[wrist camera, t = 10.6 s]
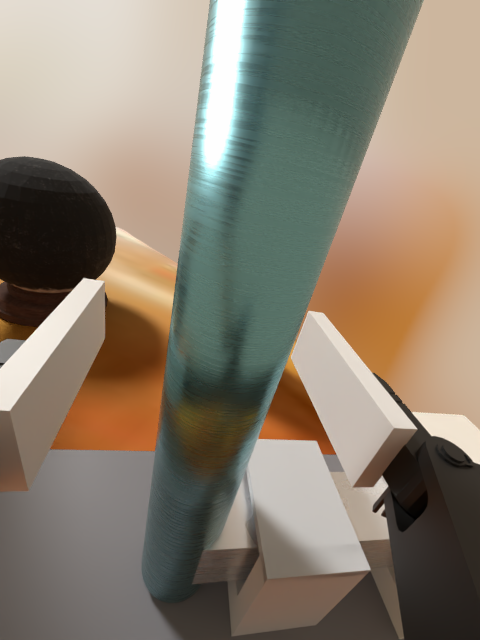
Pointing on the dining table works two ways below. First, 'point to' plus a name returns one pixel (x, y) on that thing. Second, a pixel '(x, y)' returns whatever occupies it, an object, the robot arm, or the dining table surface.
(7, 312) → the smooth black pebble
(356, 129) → the tube
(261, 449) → the socket
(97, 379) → the dining table surface
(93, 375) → the dining table surface
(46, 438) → the robot arm
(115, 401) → the dining table surface
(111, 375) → the dining table surface
